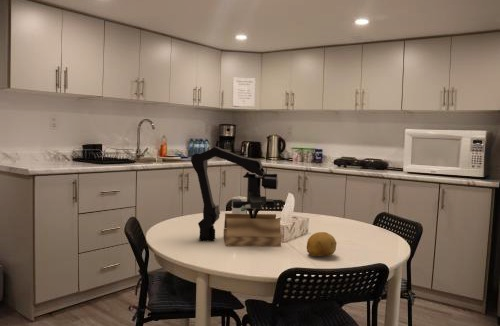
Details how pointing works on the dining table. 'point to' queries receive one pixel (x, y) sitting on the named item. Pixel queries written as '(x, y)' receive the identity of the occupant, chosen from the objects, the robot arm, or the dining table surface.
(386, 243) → the dining table surface
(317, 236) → the potato
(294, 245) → the dining table surface
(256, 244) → the carton
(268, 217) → the far flap
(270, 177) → the robot arm
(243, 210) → the syrup box
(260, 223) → the near flap
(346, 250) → the dining table surface
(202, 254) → the dining table surface
